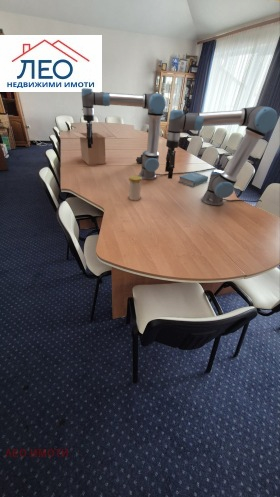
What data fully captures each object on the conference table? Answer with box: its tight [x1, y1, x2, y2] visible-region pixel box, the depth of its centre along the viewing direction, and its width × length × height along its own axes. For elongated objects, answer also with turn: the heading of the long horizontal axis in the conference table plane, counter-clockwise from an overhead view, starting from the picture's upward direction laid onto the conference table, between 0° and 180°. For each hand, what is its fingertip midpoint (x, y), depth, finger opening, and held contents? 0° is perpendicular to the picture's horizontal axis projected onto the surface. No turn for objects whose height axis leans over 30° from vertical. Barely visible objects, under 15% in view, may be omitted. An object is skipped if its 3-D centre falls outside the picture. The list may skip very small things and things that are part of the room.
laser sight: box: [135, 153, 143, 165], centre depth 238 cm, size 10×22×10 cm, turn 78°
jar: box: [128, 180, 142, 201], centre depth 162 cm, size 8×8×15 cm
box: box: [70, 129, 114, 166], centre depth 229 cm, size 44×36×27 cm
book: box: [178, 171, 209, 188], centre depth 201 cm, size 23×16×5 cm
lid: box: [128, 174, 143, 183], centre depth 158 cm, size 9×9×2 cm
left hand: (90, 146), depth 173 cm, fingers open, 13 cm apart
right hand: (168, 174), depth 147 cm, fingers open, 13 cm apart
